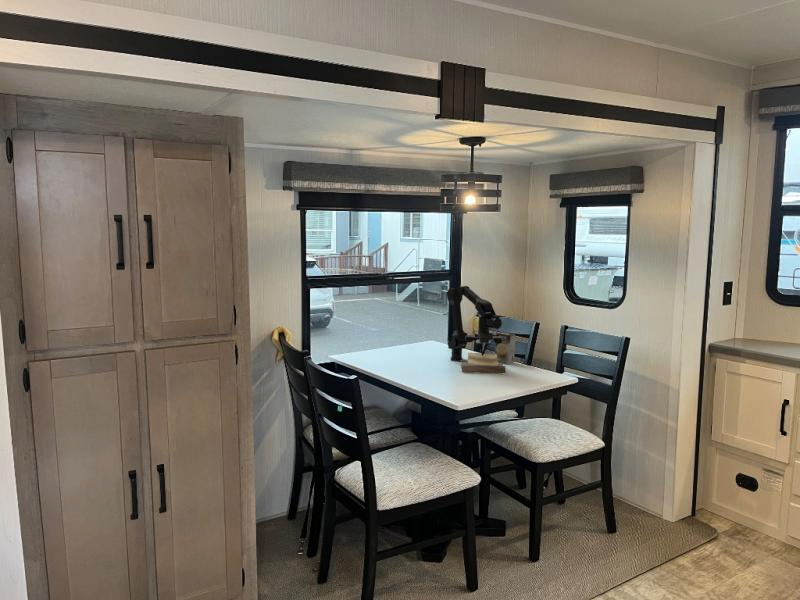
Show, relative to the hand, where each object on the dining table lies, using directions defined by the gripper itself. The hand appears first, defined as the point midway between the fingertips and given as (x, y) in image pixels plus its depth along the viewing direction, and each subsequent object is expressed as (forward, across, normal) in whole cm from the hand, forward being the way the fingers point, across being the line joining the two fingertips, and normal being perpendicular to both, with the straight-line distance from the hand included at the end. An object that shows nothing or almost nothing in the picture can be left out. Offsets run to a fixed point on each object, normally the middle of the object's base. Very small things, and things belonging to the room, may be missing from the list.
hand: (482, 355), depth 312 cm
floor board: (+7, 0, -3) cm, 7 cm away
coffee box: (+7, +13, +14) cm, 21 cm away
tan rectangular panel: (+3, 0, -2) cm, 3 cm away
